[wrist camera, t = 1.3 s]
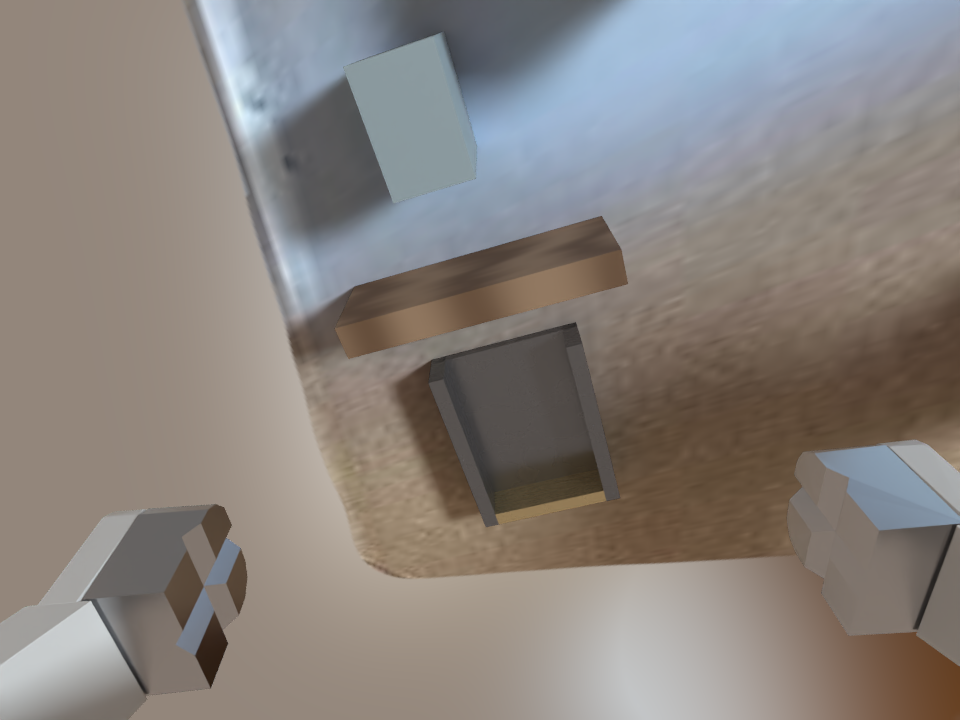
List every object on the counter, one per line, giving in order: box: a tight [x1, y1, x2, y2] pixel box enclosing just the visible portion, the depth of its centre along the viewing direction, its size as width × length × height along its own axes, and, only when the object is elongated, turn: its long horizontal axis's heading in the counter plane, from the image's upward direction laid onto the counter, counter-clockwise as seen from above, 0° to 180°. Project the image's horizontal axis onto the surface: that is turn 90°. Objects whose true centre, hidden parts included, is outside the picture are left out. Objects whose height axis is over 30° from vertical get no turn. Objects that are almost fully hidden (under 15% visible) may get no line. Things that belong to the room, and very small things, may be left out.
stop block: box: [343, 32, 477, 204], centre depth 30 cm, size 4×6×8 cm, turn 17°
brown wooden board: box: [335, 216, 628, 359], centre depth 36 cm, size 16×2×6 cm, turn 107°
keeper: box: [429, 322, 620, 527], centre depth 43 cm, size 10×13×3 cm
